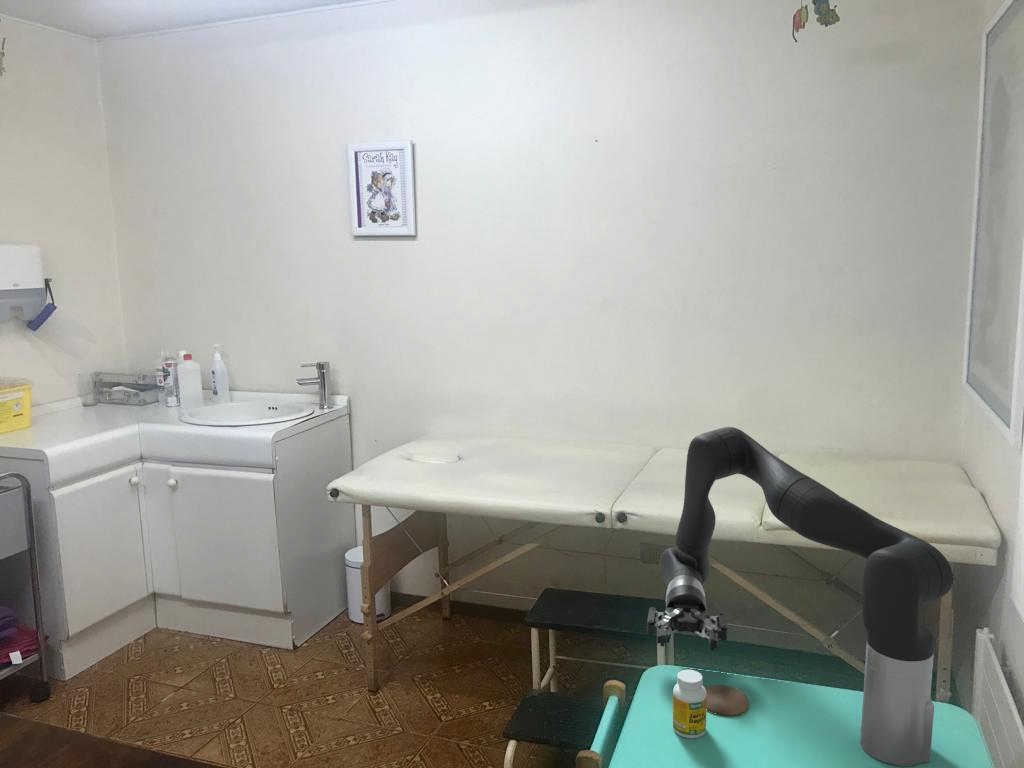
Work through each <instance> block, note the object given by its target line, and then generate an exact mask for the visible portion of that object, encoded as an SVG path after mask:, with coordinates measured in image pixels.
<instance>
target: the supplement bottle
mask: <svg viewBox="0 0 1024 768" xmlns="http://www.w3.org/2000/svg"><path fill="white" fill-rule="evenodd" d="M676 678H677V679H676V682H677V683H676V684H675V685H674V687H673V690H672V729H673V730H674V732H675V734H677V735H679V736H680V737H682V738H687V739H698V738H700V737H702V736H703V735H704V734H705V733H706V728H707V710H706V704H707V693H706V690H705V686H704V685H703V684H704V682H703V681H704V680H703V675H702V673H700V672H699V671H697V670H693V669H684V670H680V671H678V672H677V677H676Z"/></svg>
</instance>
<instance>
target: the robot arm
mask: <svg viewBox="0 0 1024 768" xmlns="http://www.w3.org/2000/svg"><path fill="white" fill-rule="evenodd" d="M735 475H742V476H745V477H747V478H748V479H750V480H752V481H753V482H754V483H756V484H757V485H759V486H760V487H761V489H762V491H763V494H764V498H765V501H766V504H767V507H768V508H769V511H770V513H771V514H772V515H773V517H774V518H775V519H777V520H778V521H779V522H781V523H782V524H783V525H785V526H787V527H788V528H790V529H791V530H792V531H793V532H795V533H797V534H798V535H800V536H801V537H804V538H805V539H807V540H809V541H812V542H814V543H817V544H820V545H823V546H827V547H830V548H835V549H838V550H842V551H844V552H845V551H846V552H848V553H852V554H854V555H857V556H859V557H862V558H864V559H866V562H865V563H864V566H863V574H862V622H863V625H864V627H865V630H866V647H865V662H864V663H865V664H864V665H865V666H864V676H863V677H864V679H863V692H862V693H863V694H862V696H863V697H862V711H861V726H860V745H861V747H862V748H863V749H864V751H865V752H866V753H868V754H869V755H870V756H871V757H873V758H875V759H876V760H878V761H881V762H882V763H886V764H889V765H895V766H898V767H899V766H901V767H911V766H912V767H913V766H916V765H919V764H921V763H931V751H932V741H933V730H934V729H933V728H934V727H933V726H934V717H935V716H934V715H935V703H934V702H933V700H932V698H931V691H932V680H933V665H934V656H935V655H934V652H935V643H936V642H935V635H934V633H933V631H932V630H931V629H930V628H929V627H927V625H925V624H922V623H921V622H919V607H920V606H922V605H926V604H929V603H932V602H935V601H937V600H938V599H940V598H943V597H944V596H946V594H948V593H949V592H950V590H951V589H952V587H953V584H954V579H955V577H954V572H953V569H952V566H951V565H950V562H949V561H948V559H947V558H946V557H945V555H943V553H942V552H941V551H940V550H939V549H937V548H936V547H935V546H934V545H933V544H930V543H929V542H928V541H925V540H924V539H921V538H919V537H917V536H915V535H913V534H911V533H909V532H906V531H904V530H903V529H900V528H898V527H896V526H893V525H891V524H889V523H887V522H885V521H884V520H881V519H880V518H877V517H875V516H874V515H872V514H871V513H869V512H867V510H866V511H865V510H864V509H863V508H861V507H860V506H858V505H855V504H854V503H853V502H851V501H849V500H847V499H845V498H844V497H842V496H840V495H839V494H837V493H836V492H835V491H833V490H831V489H830V488H829V487H827V486H826V485H823V484H822V483H820V482H818V480H815V479H813V478H812V477H810V476H808V475H807V474H805V473H803V472H801V471H799V470H798V469H796V468H795V467H792V466H791V465H790V464H788V463H787V462H786V461H784V460H782V459H780V458H779V457H778V456H776V455H774V454H773V453H772V452H770V451H769V450H768V449H766V448H765V446H763V445H762V444H761V443H759V442H758V441H757V440H755V439H753V438H752V437H751V436H750V435H749V434H748V433H746V432H744V431H743V430H741V429H739V428H736V427H734V426H725V427H721V428H717V429H714V430H710V431H706V432H703V433H700V434H698V435H696V436H694V437H693V438H692V440H691V441H690V443H689V445H688V449H687V455H686V466H685V477H684V498H683V507H682V512H681V516H680V520H679V522H678V526H677V530H676V533H675V538H674V539H675V541H674V542H675V545H676V547H673V546H672V547H668V548H666V549H664V551H662V553H661V555H660V557H659V563H658V569H659V573H660V576H661V578H662V581H664V584H665V585H666V586H667V589H666V592H665V593H666V595H665V610H664V611H657V609H656V607H651V606H650V607H649V609H648V615H647V619H646V633H647V635H654V634H655V635H656V643H657V644H660V645H659V646H660V647H665V641H666V640H665V637H666V635H669V636H671V635H673V634H675V633H676V632H687V633H694V634H695V633H696V634H697V635H699V636H700V637H702V638H703V639H705V638H707V640H708V643H709V651H712V652H713V651H715V649H718V647H719V639H720V640H721V641H727V640H728V628H729V626H728V623H727V619H726V614H725V613H724V612H717V615H710V613H708V612H707V602H706V594H705V590H704V584H705V583H707V581H708V579H709V577H710V573H711V571H710V570H711V569H710V559H709V558H710V556H709V550H710V549H709V548H710V543H711V540H712V537H713V534H714V531H715V527H716V521H717V520H716V517H717V516H716V512H715V509H714V507H713V504H712V502H711V500H710V499H709V495H710V491H711V488H712V486H713V485H714V483H715V482H716V481H718V480H721V479H725V478H727V477H732V476H735Z"/></svg>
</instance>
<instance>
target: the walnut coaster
mask: <svg viewBox="0 0 1024 768" xmlns="http://www.w3.org/2000/svg"><path fill="white" fill-rule="evenodd" d="M704 688H705V690H706V693H707V704H706V709H707V710H708V712H709V711H710V712H709V713H711V712H712V714H714V713H716V714H715V715H717V714H718V716H722V715H723V717H735V716H739V715H742V714H744V713H746V712H747V711H748V709H749V707H750V698H749V696H748V695H747V694H746V693H745V692H743V691H742V690H740V689H738V688H736V687H733V686H730V685H725V684H713V685H712V684H711V685H708V686H707V685H706V686H704ZM707 710H706V711H707Z"/></svg>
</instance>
